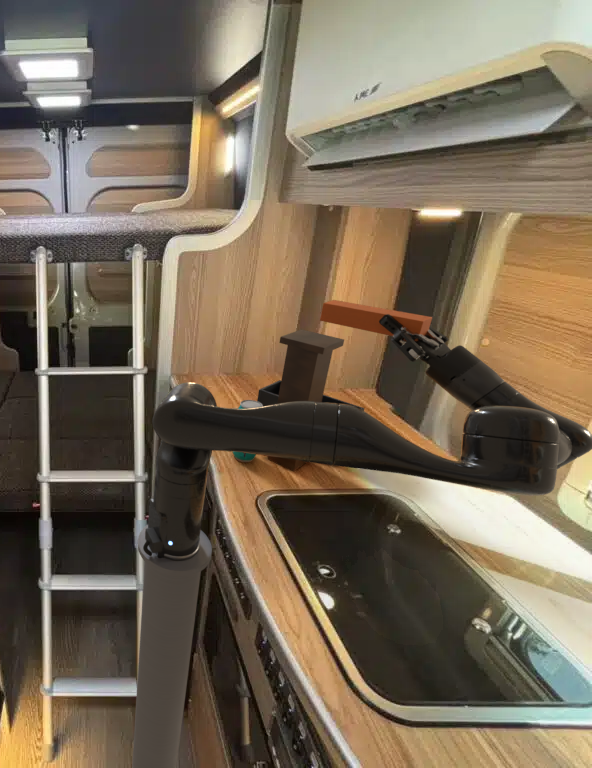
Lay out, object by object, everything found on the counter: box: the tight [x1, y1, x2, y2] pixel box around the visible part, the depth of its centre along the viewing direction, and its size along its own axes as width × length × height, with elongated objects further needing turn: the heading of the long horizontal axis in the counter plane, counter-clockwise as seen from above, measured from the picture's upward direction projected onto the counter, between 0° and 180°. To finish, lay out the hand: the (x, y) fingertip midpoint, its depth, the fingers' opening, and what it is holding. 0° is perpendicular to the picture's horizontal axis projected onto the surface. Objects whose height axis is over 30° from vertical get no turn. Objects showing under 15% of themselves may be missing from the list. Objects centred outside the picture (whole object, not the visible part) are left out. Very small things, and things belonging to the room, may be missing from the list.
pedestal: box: [267, 328, 345, 472], centre depth 110 cm, size 10×9×32 cm
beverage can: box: [232, 399, 263, 463], centre depth 115 cm, size 6×6×15 cm
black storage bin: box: [256, 379, 365, 466], centre depth 123 cm, size 23×10×13 cm, turn 38°
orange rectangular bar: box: [319, 299, 433, 341], centre depth 97 cm, size 19×5×4 cm, turn 37°
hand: (388, 315), depth 94 cm, fingers closed on orange rectangular bar, 4 cm apart
